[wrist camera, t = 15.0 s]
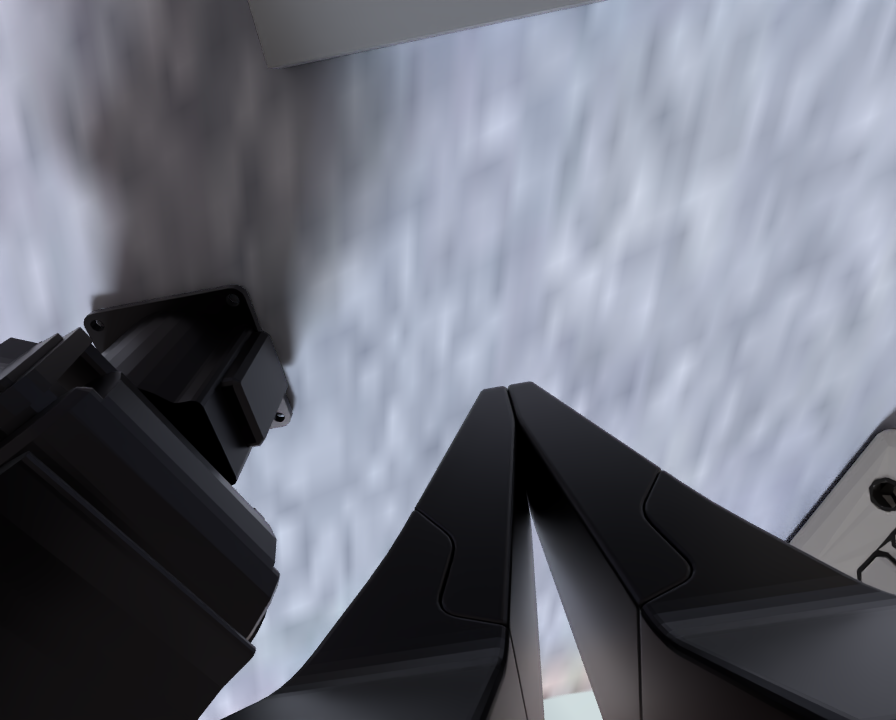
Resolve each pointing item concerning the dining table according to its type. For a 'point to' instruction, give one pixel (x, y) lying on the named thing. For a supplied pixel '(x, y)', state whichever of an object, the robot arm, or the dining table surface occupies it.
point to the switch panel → (375, 23)
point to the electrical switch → (859, 519)
